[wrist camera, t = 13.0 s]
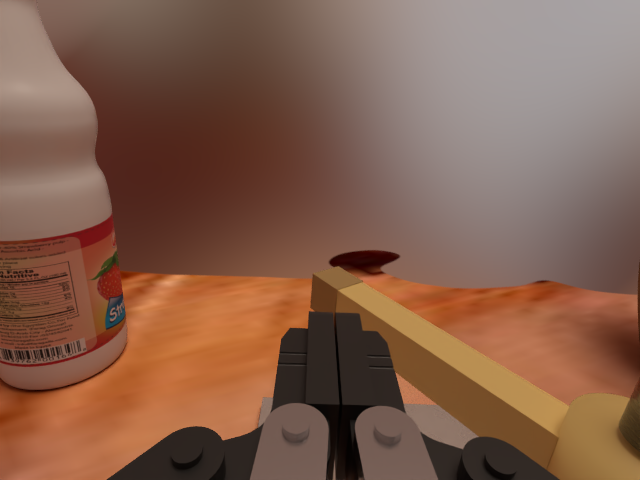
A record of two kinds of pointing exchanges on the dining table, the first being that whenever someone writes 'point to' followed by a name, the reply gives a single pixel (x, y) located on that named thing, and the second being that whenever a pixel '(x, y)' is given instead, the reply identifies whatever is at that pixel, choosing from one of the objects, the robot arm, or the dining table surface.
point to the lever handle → (489, 389)
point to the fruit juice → (52, 218)
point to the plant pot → (639, 301)
